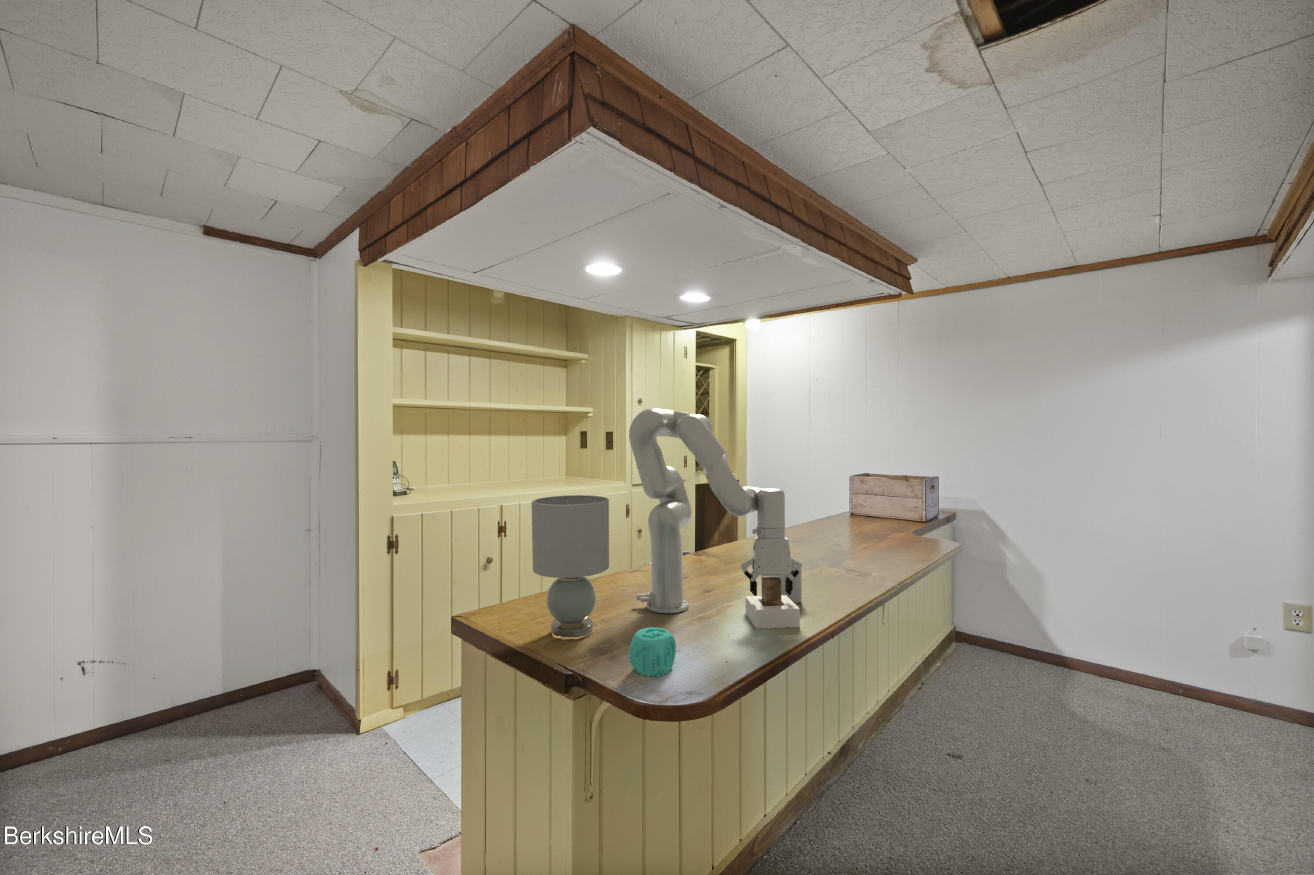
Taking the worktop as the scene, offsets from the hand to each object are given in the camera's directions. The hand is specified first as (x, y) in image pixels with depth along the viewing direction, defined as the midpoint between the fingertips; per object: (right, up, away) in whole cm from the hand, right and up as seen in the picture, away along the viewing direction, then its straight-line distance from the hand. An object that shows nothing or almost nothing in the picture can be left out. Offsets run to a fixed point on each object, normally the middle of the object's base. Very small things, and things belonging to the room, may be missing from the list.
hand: (771, 593), depth 154 cm
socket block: (0, -7, 0) cm, 7 cm away
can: (+9, -7, +17) cm, 20 cm away
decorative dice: (-33, -8, -30) cm, 45 cm away
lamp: (-55, -8, -8) cm, 56 cm away
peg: (0, -7, 0) cm, 7 cm away
